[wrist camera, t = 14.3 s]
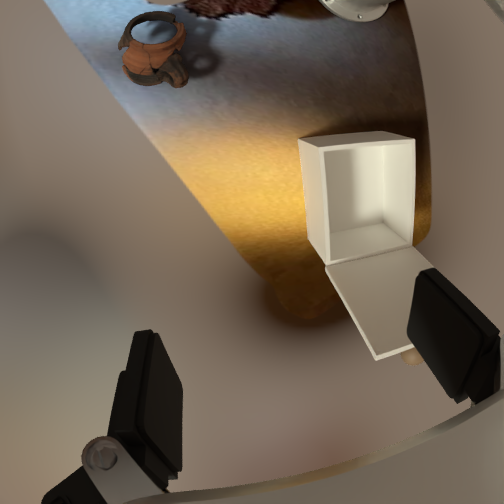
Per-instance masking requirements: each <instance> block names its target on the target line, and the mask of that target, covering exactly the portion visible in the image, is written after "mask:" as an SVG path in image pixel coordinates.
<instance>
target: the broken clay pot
mask: <svg viewBox="0 0 504 504" xmlns="http://www.w3.org/2000/svg"><path fill="white" fill-rule="evenodd" d="M175 18H176V16H175V15H174V14H172V13H169V12H164V11H153V12H146V13H144V14H140V15H138V16H136V17H134V18H133V19H132V20H130V22H129V23H128V24H127V26H126V27H125V31H124V33H123V35H122V37H121V40H120V41H119V43H118V49H119V50H121V49H122V47H129V48H128V49H127V50H126V52H125V53H124V55H123V56H122V59H123V63H124V64H125V65H126V66H125V65H123V66H122V68H123V71H124V73H125V74H126V75H127V77H128V78H129V79H130V80H131V81H133V82H134V83H136V84H139V85H143V86H152V85H157V84H160V83H161V82H162V81H165V82H167V83H169V84H170V85H171V86H172V87H174V88H181V87H183V86H185V85H186V84H187V83H188V79H189V75H188V71H187V69H186V68H185V66H184V64H183V63H182V57H181V56H180V54H178V53H174V54H173V52H174V50H175V49H176V50H178V51H180V50H181V48H182V46H183V43H184V42H185V37H186V34H187V33H186V30H185V28H184V24H183V23H178V22H177V21H175ZM155 20H161V21H166V22H169V23H171V24H173V25H175V26H176V28H177V34H176V35H175V36H174V37H173V38H172V39H171V40H169V41H167V42H163V43H159V44H143V43H140V42H138V41H136V40H135V39H133V37H132V35H131V30H132V29H133V27H135V26H136V25H137V24H140V23H143V22H146V21H155ZM153 68H155V69H159V71H157V72H155V71H154V69H153Z"/></svg>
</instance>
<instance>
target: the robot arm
mask: <svg viewBox="0 0 504 504" xmlns="http://www.w3.org/2000/svg"><path fill="white" fill-rule="evenodd" d="M319 1H320V2H321V3H322V4H323V5H324V6H325V7H326V8H327V9H328V10H329V11H330V12H332V13H333V14H335V15H337V16H338V17H340V18H343V19H345V20H348V21H352V22H359V23H362V22H369V21H373V20H375V19H377V18H379V17H380V16H382V15H383V14H384V12H385V11H386V10H387V8H388V4H389V3H390V2H392V1H395V0H326V1H325V0H319ZM484 1H485V2H486V3H487V5H488V6H489V7H490V8H491V10H492V11H493V12H494V13H495V15H496V16H497V17H498V18H499V19H500V20H501V22H502V23H504V0H484ZM499 332H500V331H499V329H498V328H496V326H495V325H494V324H493V323H492V322H491V321H490V320H489V319H488V318H487V317H486V316H485V315H484V314H483V313H482V312H481V311H480V310H479V309H478V308H477V307H476V306H475V305H474V304H473V303H472V302H471V301H470V300H469V299H468V298H467V297H466V296H465V295H464V294H463V293H462V292H461V291H459V290H458V289H457V288H456V287H455V286H454V285H453V284H452V283H451V282H450V281H449V280H447V278H445V277H444V276H443V275H442V274H441V273H440V272H439V271H438V270H437V269H435V268H429V269H425V270H422V271H420V272H419V274H418V276H417V277H416V279H415V285H414V292H413V298H412V304H411V309H410V315H409V320H408V325H407V336H408V338H409V340H410V341H411V342H412V344H413V345H414V347H415V348H416V349H417V351H418V352H419V354H420V355H421V356H422V358H423V359H424V361H425V362H426V363H427V365H428V366H429V368H430V369H431V371H432V372H433V374H434V375H435V377H436V378H437V380H438V381H439V383H440V384H441V385H442V387H443V389H444V390H445V392H446V393H447V395H448V396H449V397H450V398H453V399H454V400H455V402H456V403H457V404H458V403H460V402H462V401H463V400H465V399H467V398H468V397H469V398H470V399H471V407H470V408H469V409H467V410H465V411H464V412H462V413H460V414H458V415H457V416H454V417H453V418H451V419H449V420H447V421H445V422H443V423H441V424H439V425H437V426H434V427H432V428H431V429H428V430H426V431H424V432H422V433H419V434H417V435H415V436H413V437H410V438H408V439H406V440H403V441H401V442H399V443H396V444H394V445H391V446H389V447H386V448H383V449H381V450H378V451H375V452H372V453H370V454H367V455H364V456H361V457H358V458H355V459H352V460H349V461H346V462H342V463H339V464H336V465H332V466H329V467H326V468H321V469H318V470H314V471H310V472H306V473H302V474H298V475H293V476H289V477H285V478H279V479H274V480H269V481H263V482H257V483H251V484H245V485H239V486H231V487H223V488H214V489H205V490H193V491H184V492H174V493H170V492H169V490H168V489H167V486H168V480H174V479H178V472H179V471H180V472H181V471H182V409H183V388H182V384H181V381H180V379H179V377H178V375H177V373H176V371H175V369H174V367H173V364H172V363H171V360H170V358H169V356H168V354H167V351H166V349H165V347H164V345H163V343H162V340H161V338H160V336H159V334H158V333H153V331H152V330H150V329H149V330H143V331H136V332H135V333H134V336H133V340H132V344H131V349H130V353H129V357H128V362H127V366H126V370H125V371H122V372H121V373H120V375H119V378H118V383H117V387H116V392H115V397H114V402H113V406H112V411H111V417H110V422H109V427H108V433H107V436H101V437H97V438H95V439H93V440H91V441H90V442H89V443H88V444H86V446H85V448H84V449H83V452H82V455H81V459H82V464H83V466H81V467H80V468H79V469H77V470H76V471H75V472H74V473H72V474H71V475H70V476H68V477H67V478H66V479H64V480H63V481H62V482H61V483H59V484H58V485H56V486H55V487H54V488H52V489H51V490H50V491H49V492H47V493H46V494H45V495H44V497H43V499H42V502H41V504H504V335H503V336H502V337H501V338H500V337H499V335H498V334H499Z"/></svg>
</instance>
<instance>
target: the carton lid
mask: <svg viewBox="0 0 504 504" xmlns="http://www.w3.org/2000/svg"><path fill="white" fill-rule="evenodd" d="M429 268H434V266H433V265H431V263H429V261H427V260H426V259H425V258H424V257H423V256H422V255H421V254H420V253H419V252H418V251H417V250H416V249H415V248H414V247H409V248H405V249H401V250H396V251H392V252H388V253H383V254H379V255H375V256H370V257H366V258H362V259H357V260H353V261H348V262H344V263H339V264H335V265H330V266H325V271H326V273H327V275H328V276H329V278H330V280H331V282H332V283H333V285H334V287H335V289H336V290H337V292H338V294H339V296H340V297H341V299H342V301H343V302H344V304H345V306H346V308H347V309H348V311H349V313H350V315H351V317H352V318H353V320H354V322H355V324H356V326H357V327H358V329H359V331H360V333H361V335H362V337H363V338H364V340H365V342H366V344H367V346H368V347H369V350H370V351H371V353H372V355H373V357H374V359H375V361H376V360H379V359H382V358H385V357H388V356H391V355H394V354H397V353H400V352H401V357H402V359H403V361H404V362H405V363H407V364H408V365H418V364H420V363H422V362H423V361H424V359H423V358H422V356H421V355H420V354H419V352H418V351H417V349H416V348H415V347H414V345H413V344H412V342H411V341H410V340H409V338H408V336H407V325H408V320H409V315H410V309H411V304H412V298H413V292H414V285H415V279H416V277H417V276H418V274H419V272H420V271H422V270H425V269H429ZM435 269H436V268H435Z"/></svg>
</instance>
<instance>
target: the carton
mask: <svg viewBox="0 0 504 504" xmlns="http://www.w3.org/2000/svg"><path fill="white" fill-rule="evenodd" d="M298 145H299V153H300V162H301V171H302V180H303V190H304V200H305V210H306V221H307V233H308V239H309V241H310V242H311V244H312V245H313V247H314V248H315V250H316V251H317V253H318V254H319V255H320V257H321V258H322V260H323V261H324V263H325V264H326V266H328V265H333V264H337V263H342V262H346V261H351V260H355V259H360V258H364V257H369V256H373V255H377V254H382V253H386V252H390V251H395V250H399V249H403V248H407V247H412V238H413V225H414V207H415V139H413V138H409V137H405V136H401V135H397V134H393V133H389V132H385V131H372V132H358V133H346V134H335V135H325V136H316V137H308V138H300V139H298Z"/></svg>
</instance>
